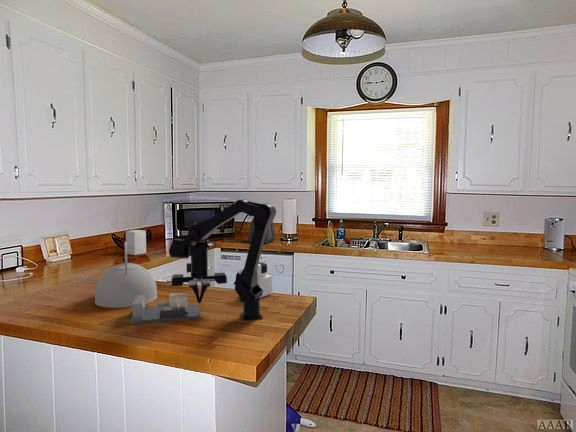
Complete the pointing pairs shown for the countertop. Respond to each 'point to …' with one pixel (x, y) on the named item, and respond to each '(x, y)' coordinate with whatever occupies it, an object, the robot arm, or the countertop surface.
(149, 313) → the gauge bench
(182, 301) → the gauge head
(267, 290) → the container
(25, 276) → the countertop surface
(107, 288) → the grey dome with rod
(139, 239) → the supplement box
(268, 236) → the bottle
